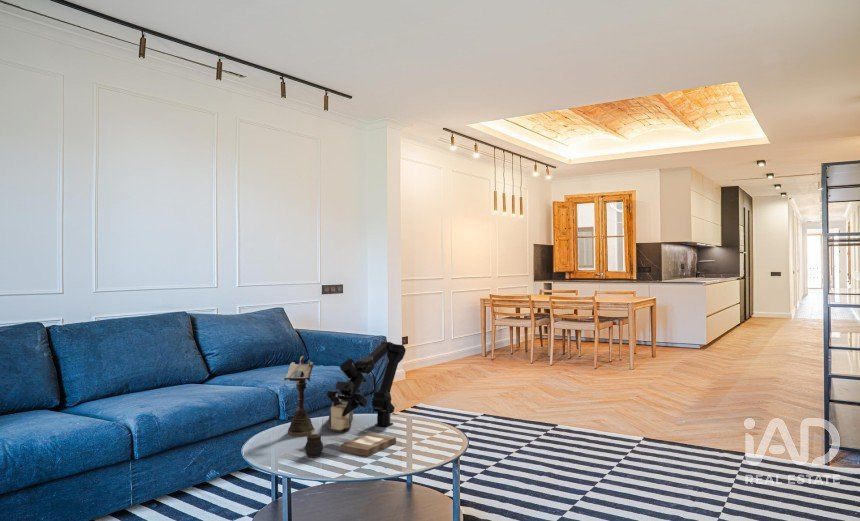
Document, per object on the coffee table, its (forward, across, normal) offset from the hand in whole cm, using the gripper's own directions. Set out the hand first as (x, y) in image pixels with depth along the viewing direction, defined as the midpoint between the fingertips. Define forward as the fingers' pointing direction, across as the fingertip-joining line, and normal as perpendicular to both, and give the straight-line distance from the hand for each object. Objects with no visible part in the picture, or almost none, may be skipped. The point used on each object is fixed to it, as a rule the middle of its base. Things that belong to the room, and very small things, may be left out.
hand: (338, 415), depth 250 cm
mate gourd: (+22, +3, -5) cm, 22 cm away
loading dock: (+7, +15, +9) cm, 19 cm away
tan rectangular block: (+4, 0, +6) cm, 7 cm away
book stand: (+7, -22, +9) cm, 25 cm away
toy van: (-8, -17, +25) cm, 32 cm away
